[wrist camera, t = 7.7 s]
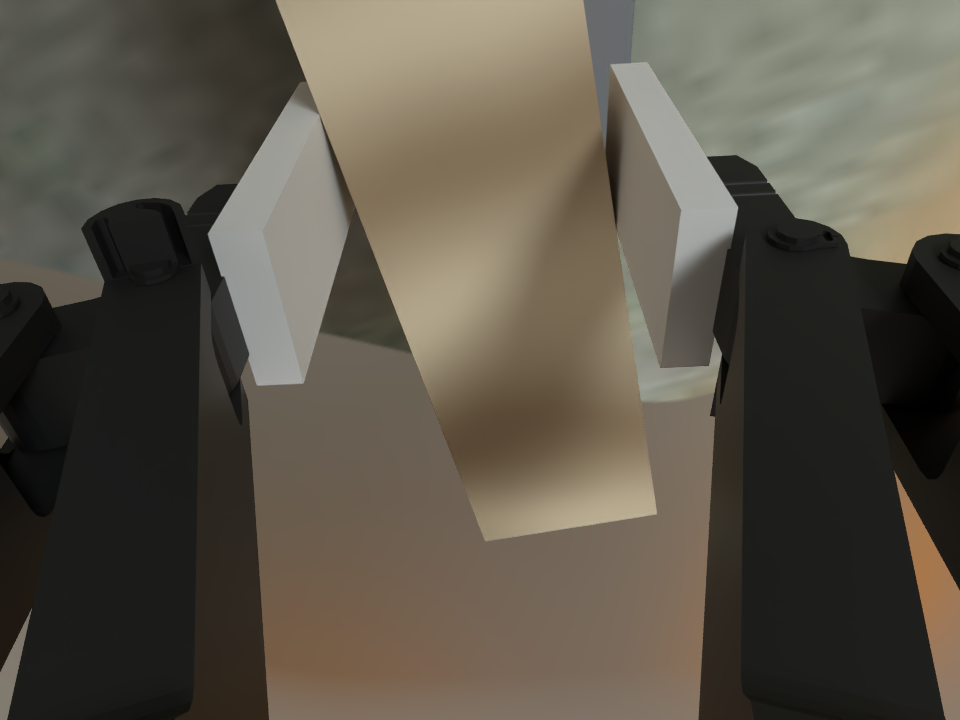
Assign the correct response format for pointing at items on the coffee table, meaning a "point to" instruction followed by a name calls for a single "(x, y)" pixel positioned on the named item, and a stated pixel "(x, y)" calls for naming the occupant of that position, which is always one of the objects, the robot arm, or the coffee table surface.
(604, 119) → the fulcrum
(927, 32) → the coffee table surface
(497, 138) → the beam
